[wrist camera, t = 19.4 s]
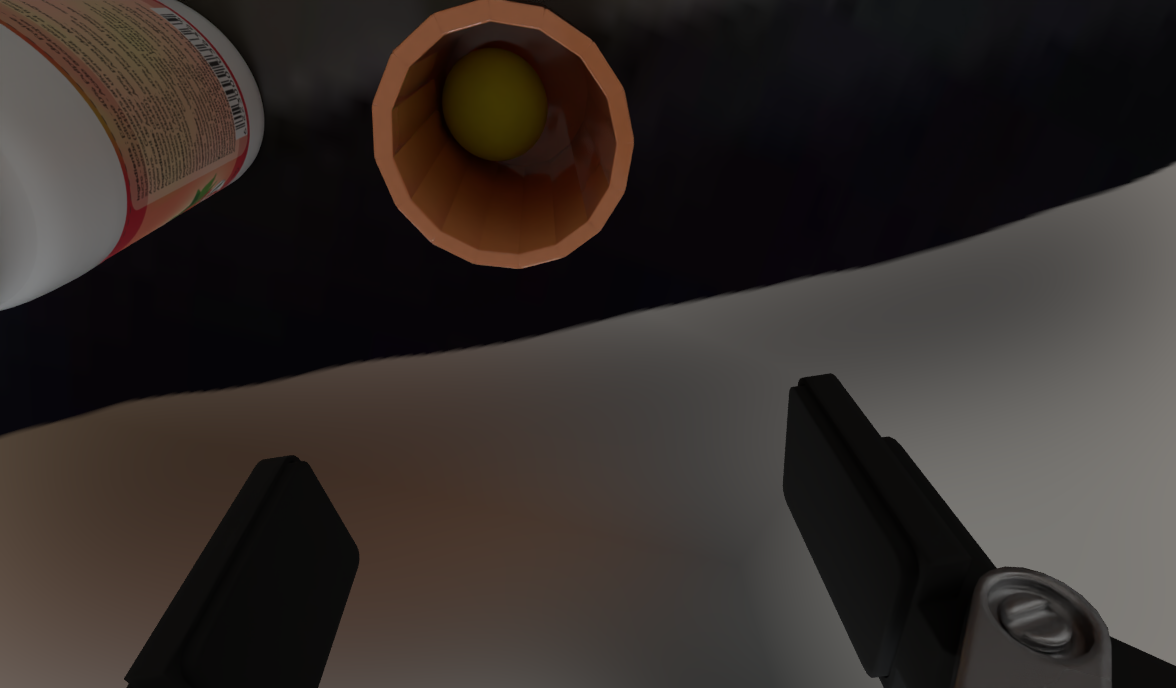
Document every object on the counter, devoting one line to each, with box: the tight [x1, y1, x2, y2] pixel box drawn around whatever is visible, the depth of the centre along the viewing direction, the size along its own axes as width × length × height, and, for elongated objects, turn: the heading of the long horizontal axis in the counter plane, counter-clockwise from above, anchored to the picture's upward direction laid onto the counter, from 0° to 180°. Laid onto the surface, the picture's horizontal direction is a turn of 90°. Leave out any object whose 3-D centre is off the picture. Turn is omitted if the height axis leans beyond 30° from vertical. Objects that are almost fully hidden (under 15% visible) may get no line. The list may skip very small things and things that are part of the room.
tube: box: [372, 0, 634, 269], centre depth 24 cm, size 8×8×13 cm
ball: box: [442, 48, 548, 161], centre depth 27 cm, size 5×5×5 cm
